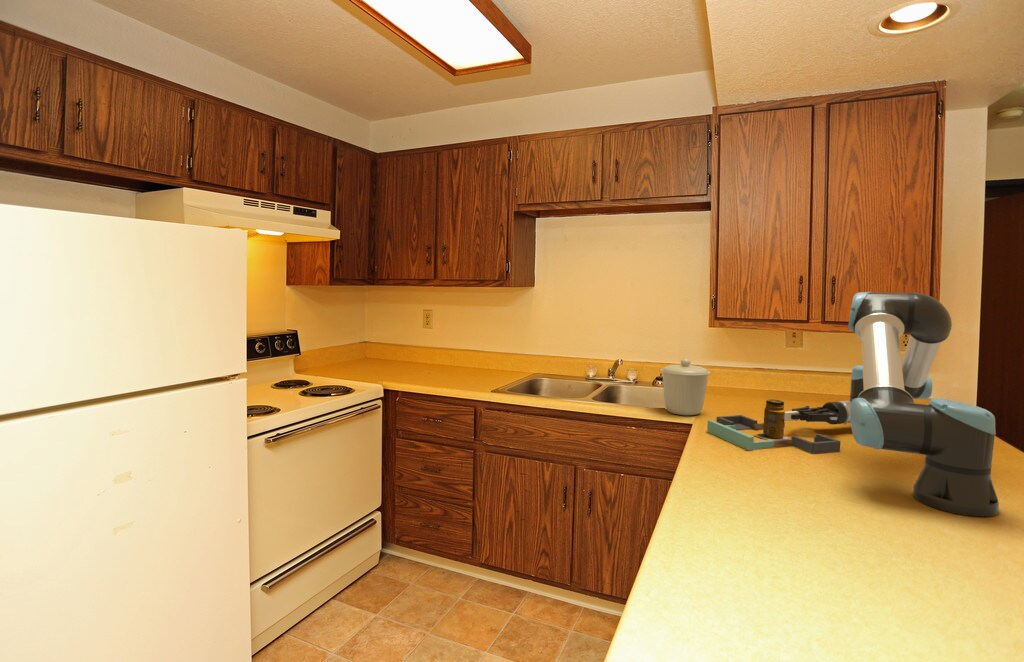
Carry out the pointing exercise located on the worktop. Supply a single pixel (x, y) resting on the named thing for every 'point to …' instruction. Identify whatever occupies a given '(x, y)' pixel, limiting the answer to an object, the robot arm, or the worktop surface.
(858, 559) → the worktop surface
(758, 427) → the lane
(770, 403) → the condiment
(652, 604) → the worktop surface
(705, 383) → the canister
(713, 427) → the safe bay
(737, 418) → the trap pits
